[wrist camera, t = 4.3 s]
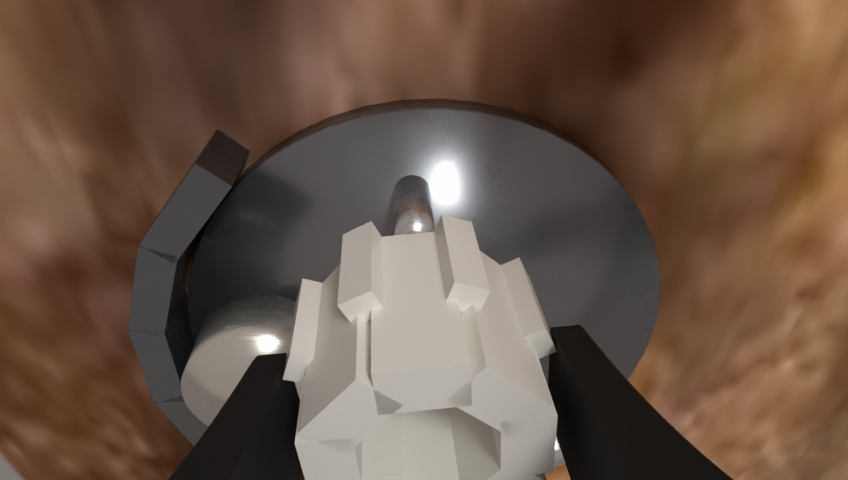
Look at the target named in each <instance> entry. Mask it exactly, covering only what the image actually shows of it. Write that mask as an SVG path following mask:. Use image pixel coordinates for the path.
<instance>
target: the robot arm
mask: <svg viewBox="0 0 848 480" xmlns="http://www.w3.org/2000/svg"><path fill="white" fill-rule="evenodd" d="M550 334H551V337H552V339H553V342H554V345H555V348H556V352H555V353H552V354H550V355H549V371H548V388H549V391H550V394H551V397H552V400H553V403H554V406H555V409H556V412H557V415H558V419H557V430H556V435H557V440H558V443H559V446H560V449H561V452H562V455H563V458H564V461H565V463H566V466H567V469H568V472H569V475H570V478H571V480H733V479H732V478H731V477H729V476H728V475H727V474H726V473H724V472H723V471H722V470H721V469H720V468H718V467H717V466H716V465H715V464H714V463H712V462H711V461H710V460H709V459H708V458H706V457H705V456H704V455H703V454H702V453H701V452H700V451H698V450H697V449H696V448H695V447H694V446H693V445H692V444H691V443H690V442H688V441H687V440H686V439H685V438H684V437H683V436H682V435H681V434H680V433H679V432H678V431H677V430H676V429H675V428H674V427H672V426H671V425H670V424H669V423H668V422H667V421H666V420H665V419H664V418H663V417H662V416H661V415H660V414H659V413H658V412H657V411H656V410H655V409H654V408H653V407H652V406H651V405H650V404H649V403H648V402H647V401H646V400H645V398H644V397H643V396H642V395H641V394H640V393H639V392H638V391H637V390H636V389H635V388H634V387H633V386H632V385H631V384H630V383H629V381H628V380H627V379H626V378H625V377H624V376H623V375H622V374H621V373H620V371H619V370H618V369H617V368H616V367H615V366H614V364H613V363H612V362H611V361H610V360H609V359H608V357H607V356H606V355H605V354H604V353H603V351H602V350H601V349H600V348H599V347H598V345H597V344H596V343H595V342H594V340H593V339H592V338H591V337H590V335H589V334H588V333H587V331H586V330H585V329H584V328H583V327H582V326H580V325H572V326H561V327H551V328H550ZM286 357H287V355H286V353H278V354H267V355H257V356H256V358H255V359H254V360H253V361H252V363H251V364H250V366H249V367H248V369H247V370H246V372H245V374H244V375H243V377H242V378H241V380H240V381H239V383H238V384H237V386H236V387H235V389H234V390H233V392H232V393H231V395H230V396H229V398H228V399H227V401H226V402H225V404H224V405H223V407H222V408H221V410H220V411H219V413H218V414H217V415H216V417H215V418H214V420H213V421H212V423H211V424H210V425H209V427H208V428H207V430H206V431H205V432H204V434H203V435H202V437H201V438H200V439H199V441H198V442H197V443H196V445H195V446H194V448H193V449H192V450H191V451H190V453H189V454H188V455H187V456H186V458H185V459H184V460H183V462H182V463H181V464H180V465H179V467H178V468H177V469H176V471H175V472H174V473H173V474H172V476H171V477H170V478H169V479H168V480H299V477H300V471H301V464H300V461H299V457H298V454H297V450H296V447H295V436H296V429H297V421H298V414H299V406H300V399H299V395H298V392H297V389H296V385H295V382H294V381H288V380H283V374H284V368H285V363H286Z"/></svg>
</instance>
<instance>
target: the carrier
mask: <svg viewBox="0 0 848 480" xmlns="http://www.w3.org/2000/svg"><path fill="white" fill-rule="evenodd" d="M248 153H249V150H247V149H246V148H244V147H243V146H241V145H239V144H238V143H236V142H235V141H233V140H232V139H230V138H229V137H227V136H226V135H224V134H223V133H221V132H220V131H218V130H216V132H215V133H214V135H213V136H212V138H211V139H210V140H209V142H208V143H207V145H206V146H205V148H204V149H203V151H202V152H201V153H200V155H199V156H198V158H197V159H196V161H195V162H194V164H193V165H192V166H191V168H190V169H189V171H188V172H187V174H186V175H185V177H184V178H183V180H182V181H181V182H180V184H179V185H178V187H177V188H176V190H175V191H174V193H173V194H172V195H171V197H170V198H169V200H168V201H167V203H166V204H165V206H164V207H163V209H162V210H161V212H160V213H159V215H158V216H157V218H156V219H155V221H154V222H153V224H152V226H151V227H150V229H149V230H148V232H147V233H146V235H145V236H144V238H143V239H142V241H141V242H140V244H139V246H138V252H137V259H136V267H135V275H134V283H133V291H132V299H131V307H130V315H129V323H128V329H129V330H128V333H129V335H130V338H131V341H132V344H133V346H134V349H135V352H136V355H137V357H138V360H139V363H140V366H141V368H142V371H143V374H144V376H145V379H146V382H147V385H148V387H149V390H150V393H151V396H152V398H153V401H154V403H155V405H156V406H157V407H158V408H159V409H160V410H161V411H162V412H163V413H164V414H165V415H166V416H167V418H168V419H169V420H170V421H171V422H172V423H173V424H174V425H175V426H176V427H177V428H178V430H179V431H180V432H181V433H182V434H183V435H184V436H185V437H186V438H187V439H188V440H189V441H190V443H191V444H192V445H193V446H195V445H196V443H197V442H198V441H199V439H200V438H201V437H202V435H203V434H204V432H205V431H206V430H207V428H208V427H209V425H210V424H211V423H212V421H213V420H214V418H215V417H216V415H217V414H218V413H219V411H220V410H221V408H222V407H223V405H224V404H225V402H226V401H227V399H228V398H229V396H230V395H231V393H232V392H233V390H234V389H235V387H236V386H237V384H238V383H239V381H240V380H241V378H242V377H243V375H244V374H245V372H246V370H247V369H248V367H249V366H250V364H251V363H252V361H253V360H254V359H255V358H256V356H257V355H267V354H278V353H286V355H287V351H288V345H289V339H290V334H291V328H292V322H293V316H294V310H295V304H296V300H297V296H298V293H299V289H300V286H301V282H302V278H303V279H307V280H312V281H316V282H321V283H323V282H324V281H325V280H326V279H327V277H328V276H329V275H330V274H331V273H332V272H333V271H334V270H335V269H336V268H337V267H338V266H339V265H340V264H341V252H342V239H343V234H345V233H347V232H349V231H351V230H353V229H355V228H357V227H360V226H362V225H364V224H366V223H368V222H370V221H372V223H373V224H374V226H375V227H376V229H377V230H378V232H379V233H380V235H381V236H382V237H384V236H394V235H404V234H415V233H425V232H434V231H435V229H436V226H437V224H438V221H439V219H440V216H441V214H443V215H446V216H450V217H454V218H458V219H462V220H466V221H470V222H472V224H473V228H474V232H475V235H476V239H477V243H478V246H479V250H480V251H482V252H483V253H484V254H486V255H487V256H489V257H490V258H491V259H493V260H494V261H495V262H497V263H498V264H500V265H503V264H505V263H507V262H510V261H512V260H514V259H516V258H520V260H521V262H522V264H523V266H524V268H525V270H526V272H527V274H528V276H529V278H530V280H531V283H532V285H533V288H534V291H535V293H536V296H537V299H538V301H539V304H540V307H541V309H542V312H543V315H544V317H545V320H546V323H547V325H548V328H549V331H550V328H551V327H561V326H572V325H580V326H582V327H583V328H584V329H585V330H586V331H587V333H588V334H589V335H590V337H591V338H592V339H593V340H594V342H595V343H596V344H597V345H598V347H599V348H600V349H601V350H602V351H603V353H604V354H605V355H606V356H607V357H608V359H609V360H610V361H611V362H612V363H613V364H614V366H615V367H616V368H617V369H618V370H619V371H620V373H621V374H622V375H623V376H624V377H625V378H626V379H628V378H629V376H630V375H631V374H632V372H633V371H634V369H635V367H636V366H637V364H638V362H639V361H640V359H641V357H642V356H643V354H644V352H645V349H646V347H647V345H648V342H649V340H650V338H651V335H652V333H653V330H654V326H655V322H656V318H657V314H658V310H659V300H660V289H661V283H660V271H659V261H658V257H657V253H656V249H655V246H654V242H653V238H652V236H651V233H650V231H649V229H648V227H647V225H646V223H645V220H644V218H643V216H642V214H641V212H640V211H639V209H638V208H637V207H636V205H635V204H634V202H633V201H632V199H631V198H630V196H629V195H628V194H627V192H626V191H625V189H624V188H623V186H622V185H621V183H620V182H619V181H618V179H617V178H616V176H615V175H614V174H613V173H612V172H611V171H610V170H609V169H608V168H607V167H606V166H605V165H604V164H603V163H602V162H601V161H600V160H599V159H598V158H597V157H596V156H595V155H594V154H592V153H591V152H590V151H588V150H587V149H586V148H584V147H583V146H582V145H580V144H579V143H578V142H576V141H575V140H574V139H572V138H571V137H569V136H568V135H566V134H564V133H562V132H560V131H558V130H556V129H555V128H553V127H551V126H549V125H547V124H545V123H544V122H541V121H539V120H536V119H533V118H531V117H528V116H525V115H523V114H520V113H517V112H515V111H512V110H508V109H504V108H500V107H495V106H491V105H486V104H482V103H477V102H469V101H458V100H447V99H419V100H400V101H394V102H388V103H382V104H376V105H369V106H365V107H361V108H358V109H355V110H351V111H348V112H345V113H341V114H338V115H335V116H331V117H329V118H327V119H325V120H323V121H320V122H318V123H316V124H314V125H311V126H309V127H307V128H305V129H302V130H300V131H299V132H297V133H295V134H294V135H292V136H291V137H289V138H287V139H286V140H284V141H283V142H281V143H279V144H278V145H276V146H275V147H273V148H271V149H270V150H269V151H268V152H267V153H265V154H264V155H263V156H262V157H261V158H259V159H258V160H257V161H256V162H255V163H254V164H252V165H251V166H250V167H249V168H248V169H247V170H246V171H245V172H244V173H243V174H242V175H241V176H240V178H239V179H238V180H237V181H236V182H235V180H236V178H237V176H238V174H239V172H240V170H241V168H242V165H243V163H244V161H245V159H246V157H247V155H248ZM234 182H235V183H234ZM233 184H234V185H233ZM218 205H219V206H218ZM217 206H218V207H217ZM216 208H217V209H216ZM215 209H216V210H215ZM214 210H215V212H214ZM213 212H214V214H213V215H212V217H211V219H210V221H209V223H208V225H207V227H206V229H205V231H204V233H203V236H202V238H201V241H200V243H199V246H198V248H197V250H196V253H195V255H194V259H193V263H192V268H191V272H190V277H189V282H188V295H187V292H186V286H187V280H188V275H189V270H190V264H191V259H192V253H193V248H194V243H195V237H196V235H197V233H198V232H199V231H200V229H201V228H202V227H203V225H204V224H205V223H206V221H207V220H208V219H209V217H210V216H211V214H212V213H213ZM539 361H540V364H541V367H542V370H543V373H544V376H545V379H546V382H547V385H548V371H549V355H547V356H545V357H542V358H540V359H539ZM302 384H303V383H300V382H295V385H296V389H297V392H298V395H299V399H301V391H302ZM563 464H565V461H564V458H563V455H562V452H561V449H560V446H559V443H558V440H557V435H556V442H555V453H554V465H553V468H555V467H559V466H561V465H563Z"/></svg>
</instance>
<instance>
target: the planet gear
mask: <svg viewBox="0 0 848 480" xmlns="http://www.w3.org/2000/svg"><path fill="white" fill-rule="evenodd" d="M555 352H556V348H555V345H554V342H553V339H552V337H551V334H550V331H549V328H548V325H547V323H546V320H545V317H544V315H543V312H542V309H541V307H540V304H539V301H538V299H537V296H536V293H535V291H534V288H533V285H532V283H531V280H530V278H529V276H528V274H527V272H526V270H525V268H524V266H523V264H522V262H521V260H520V258H516V259H514V260H512V261H510V262H507V263H505V264H503V265H500V264H498V263H497V262H495V261H494V260H493V259H491V258H490V257H489V256H487V255H486V254H484V253H483V252H482V251H480V250H479V246H478V243H477V239H476V235H475V232H474V228H473V224H472V222H470V221H466V220H462V219H458V218H454V217H450V216H446V215H443V214H441V216H440V219H439V221H438V224H437V226H436V229H435V231H434V232H425V233H415V234H404V235H394V236H384V237H382V236H381V235H380V233H379V232H378V230H377V229H376V227H375V226H374V224H373V223H372V221H370V222H368V223H366V224H364V225H362V226H360V227H357V228H355V229H353V230H351V231H349V232H347V233H345V234H343V239H342V252H341V264H340V265H339V266H338V267H337V268H336V269H335V270H334V271H333V272H332V273H331V274H330V275H329V276H328V277H327V279H326V280H325V281H324V282H323V283H321V282H316V281H312V280H307V279H303V278H302V282H301V286H300V289H299V293H298V296H297V300H296V304H295V310H294V316H293V322H292V328H291V334H290V339H289V345H288V351H287V357H286V363H285V368H284V374H283V380H288V381H294V382H300V383H303V384H302V391H301V399H300V406H299V414H298V421H297V429H296V436H295V447H296V450H297V454H298V457H299V461H300V464H301V467H302V471H303V474H304V478H305V480H546V478H545V474H544V473H552V472H553V465H554V453H555V442H556V430H557V419H558V415H557V412H556V409H555V406H554V403H553V400H552V397H551V394H550V391H549V388H548V385H547V382H546V379H545V376H544V373H543V370H542V367H541V364H540V361H539V359H540V358H542V357H545V356H547V355H550V354H552V353H555Z"/></svg>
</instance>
